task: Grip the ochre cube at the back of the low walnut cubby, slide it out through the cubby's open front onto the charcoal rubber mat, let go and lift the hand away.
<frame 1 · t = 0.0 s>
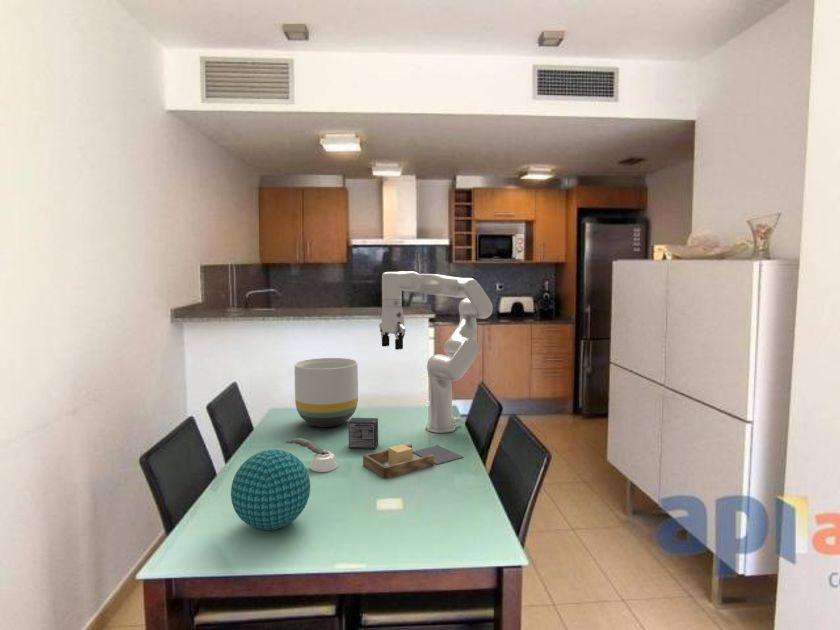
hand: (392, 347, 204), 37 cm above the table, tool pointing down, fingers open, 9 cm apart
walnut cubby: (400, 464, 181), on the table
charcoal mat: (437, 455, 190), on the table
small box: (363, 446, 200), on the table
decorative ball: (272, 526, 138), on the table
inkwell: (311, 467, 179), on the table
planter: (327, 424, 228), on the table
ochre cube: (400, 465, 181), resting in walnut cubby
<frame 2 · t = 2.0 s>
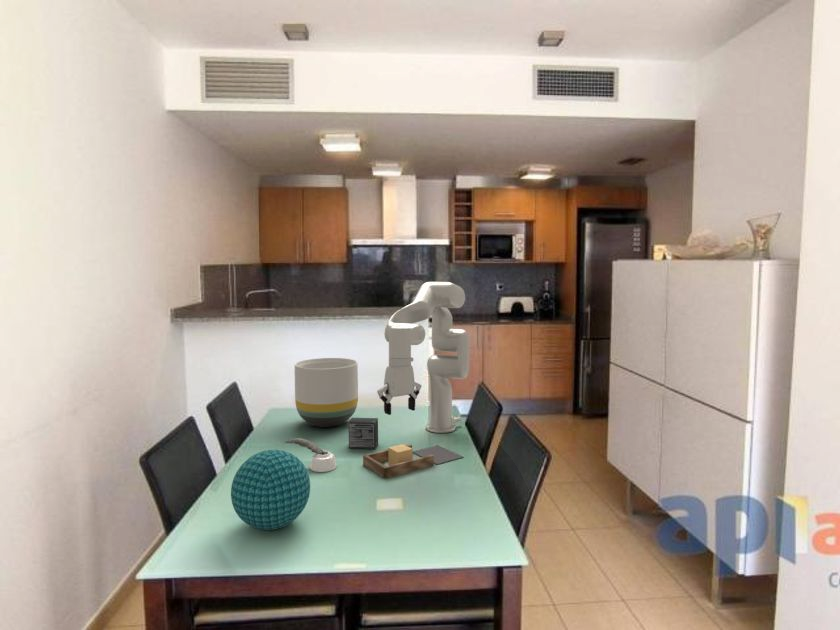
hand: (399, 411, 179), 19 cm above the table, tool pointing down, fingers open, 9 cm apart
nothing on the table moved.
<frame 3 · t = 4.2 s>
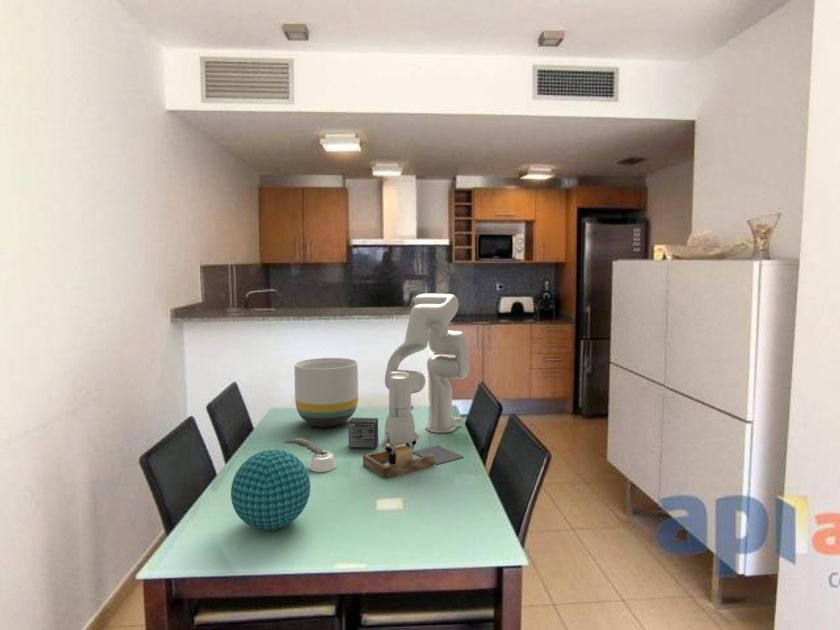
hand: (400, 461, 181), 1 cm above the table, tool pointing down, fingers closed on ochre cube, 6 cm apart
ochre cube: (400, 464, 181), resting in walnut cubby, touching gripper
everything else where it was.
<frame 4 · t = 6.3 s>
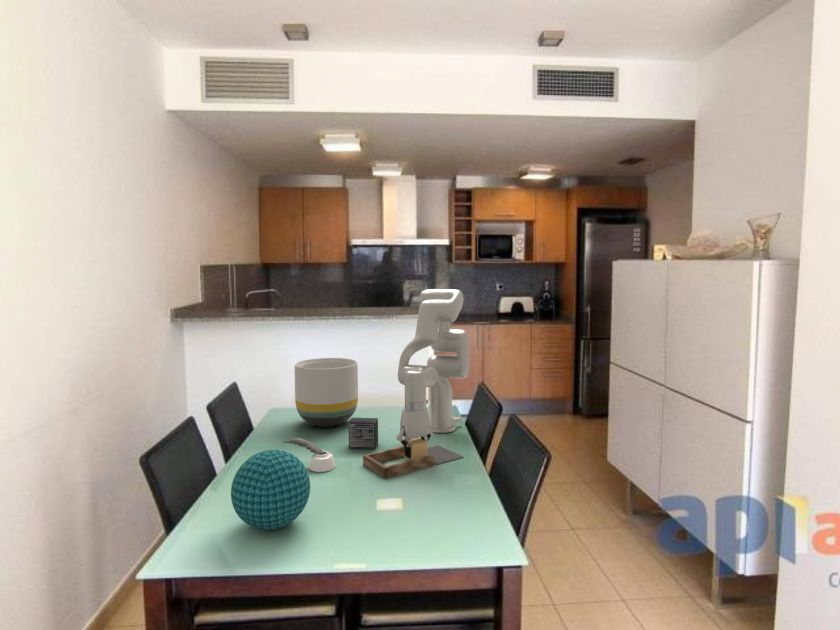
hand: (415, 454, 184), 2 cm above the table, tool pointing down, fingers closed on ochre cube, 6 cm apart
ochre cube: (415, 457, 184), point 1 cm above the table, touching gripper
everything else where it was.
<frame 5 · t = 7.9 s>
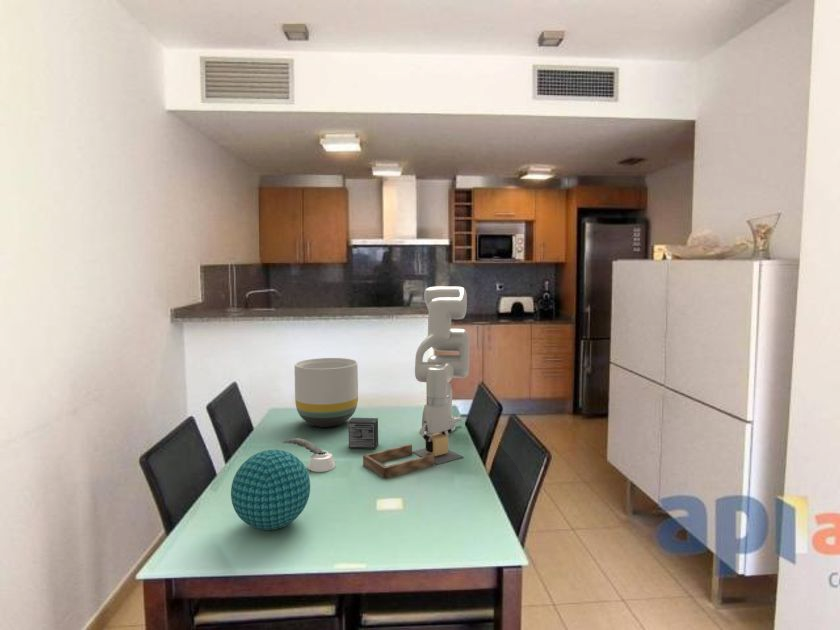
hand: (436, 449, 190), 2 cm above the table, tool pointing down, fingers closed on ochre cube, 6 cm apart
ochre cube: (436, 452, 190), point 1 cm above the table, touching gripper
everything else where it was.
when the fingers open (2 cm above the table, at t = 8.9 s): ochre cube stays where it is, resting on charcoal mat.
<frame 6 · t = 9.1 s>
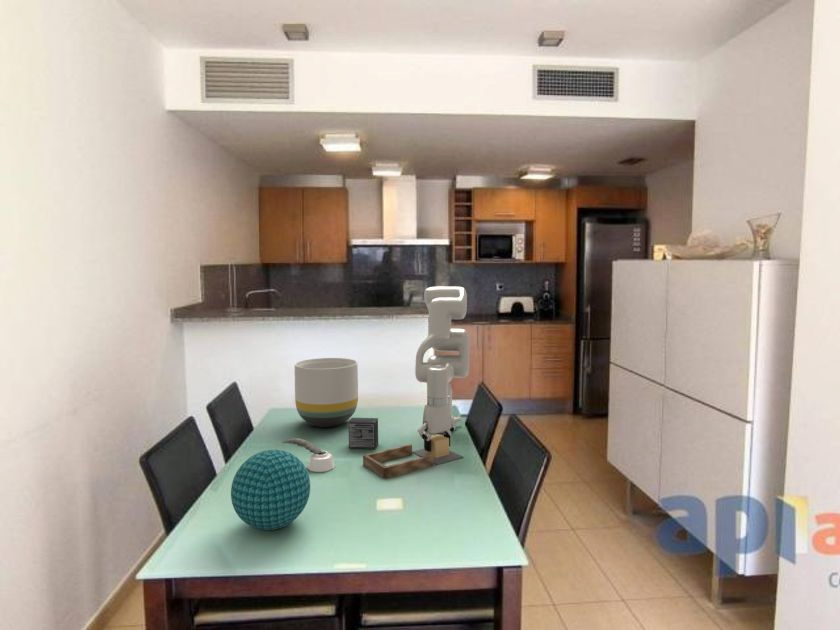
hand: (437, 448, 190), 3 cm above the table, tool pointing down, fingers open, 8 cm apart
ochre cube: (437, 453, 190), resting on charcoal mat
everything else where it was.
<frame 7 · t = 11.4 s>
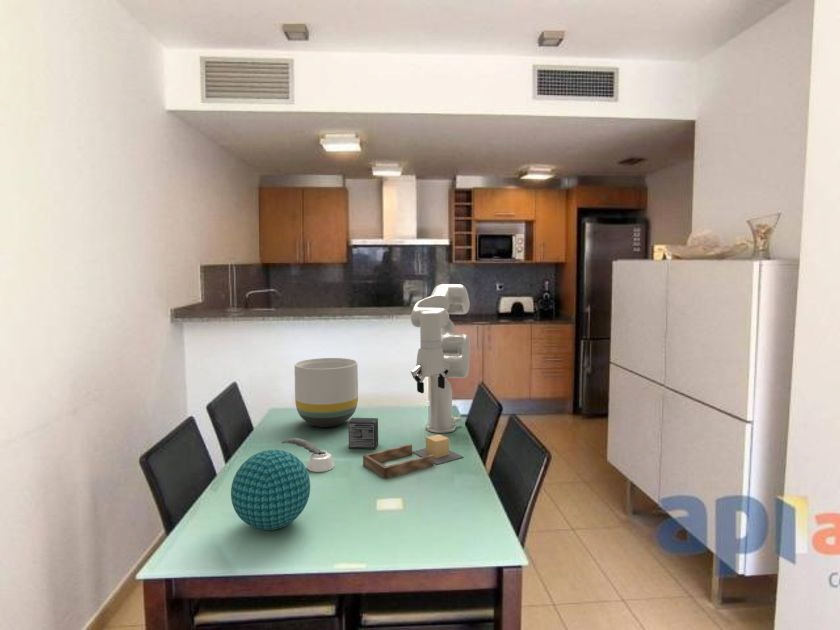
hand: (431, 390, 193), 23 cm above the table, tool pointing down, fingers open, 9 cm apart
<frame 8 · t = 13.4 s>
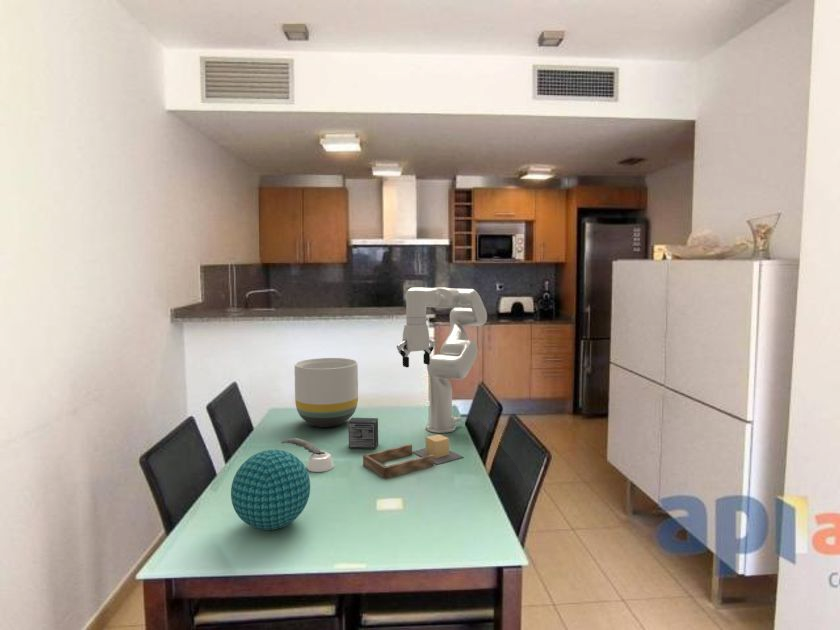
hand: (416, 365, 201), 30 cm above the table, tool pointing down, fingers open, 9 cm apart
at the end: ochre cube inside the target area (0.1 cm from its centre), resting on charcoal mat; ochre cube tilted 0°; the gripper is holding nothing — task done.
